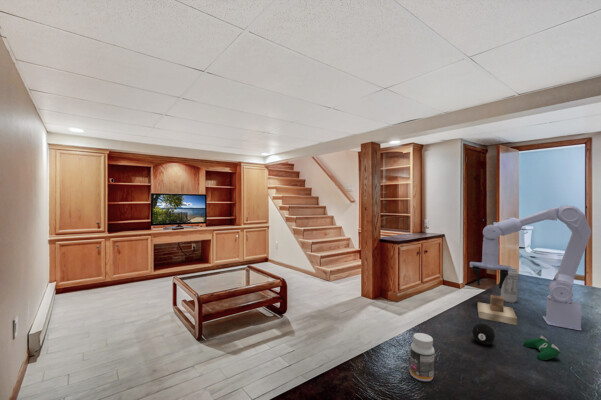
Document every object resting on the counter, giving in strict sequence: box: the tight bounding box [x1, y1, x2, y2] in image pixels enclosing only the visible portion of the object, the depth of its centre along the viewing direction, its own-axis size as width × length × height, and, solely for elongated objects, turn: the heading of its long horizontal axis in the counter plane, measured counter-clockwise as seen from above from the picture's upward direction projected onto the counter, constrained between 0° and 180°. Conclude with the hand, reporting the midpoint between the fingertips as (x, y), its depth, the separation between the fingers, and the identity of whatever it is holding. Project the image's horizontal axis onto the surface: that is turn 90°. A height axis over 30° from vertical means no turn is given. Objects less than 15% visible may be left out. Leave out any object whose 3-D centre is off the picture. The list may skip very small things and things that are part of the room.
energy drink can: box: [500, 266, 519, 304], centre depth 135 cm, size 6×6×15 cm
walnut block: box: [489, 294, 505, 312], centre depth 117 cm, size 4×4×5 cm
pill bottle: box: [409, 332, 436, 382], centre depth 76 cm, size 6×6×10 cm
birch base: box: [476, 301, 518, 326], centre depth 117 cm, size 12×12×3 cm
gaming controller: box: [523, 335, 561, 361], centre depth 89 cm, size 9×4×6 cm
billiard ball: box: [471, 322, 496, 345], centre depth 94 cm, size 6×6×6 cm
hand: (489, 286), depth 124 cm, fingers open, 7 cm apart
